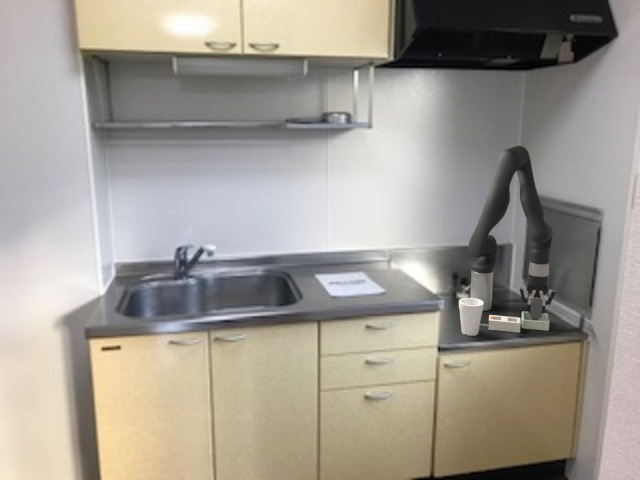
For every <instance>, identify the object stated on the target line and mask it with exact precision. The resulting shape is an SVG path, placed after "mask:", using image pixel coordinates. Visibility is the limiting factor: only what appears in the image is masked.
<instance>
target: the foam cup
mask: <svg viewBox="0 0 640 480" xmlns="http://www.w3.org/2000/svg"><path fill="white" fill-rule="evenodd" d="M483 304H484V302H483V301H482V300H479V299H475V298H470V297H463V298H461V299H459V300H458V308H459V318H460V327H461V333H462V335H465V334H466V335H465V336H469V337H470V336H473V337H474V336H477V335H479V331H480V327H481V326H480V324H481V320H482V315H483V311H482V310H483Z"/></svg>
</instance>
